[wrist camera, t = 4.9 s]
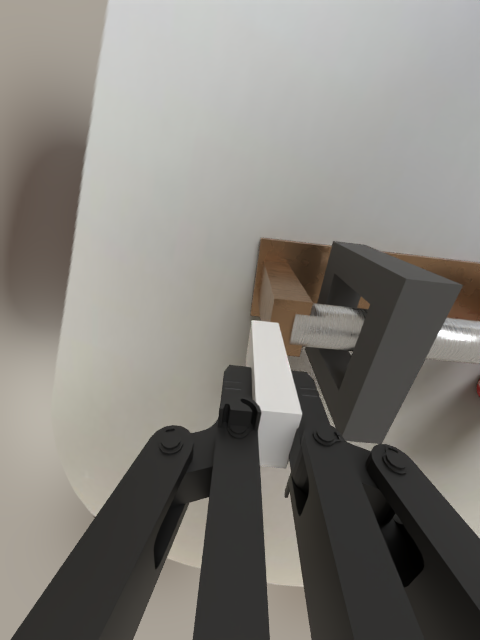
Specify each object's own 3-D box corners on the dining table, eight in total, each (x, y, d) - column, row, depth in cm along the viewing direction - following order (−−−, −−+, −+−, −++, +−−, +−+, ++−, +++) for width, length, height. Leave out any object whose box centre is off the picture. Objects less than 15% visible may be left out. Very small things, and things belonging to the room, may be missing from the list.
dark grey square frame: (305, 349, 24) (340, 440, 15) (333, 241, 20) (406, 278, 11) (330, 352, 24) (381, 443, 15) (364, 244, 20) (463, 285, 11)
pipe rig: (250, 312, 28) (253, 381, 18) (260, 237, 25) (272, 268, 14) (503, 339, 29) (648, 419, 19) (548, 270, 25) (757, 322, 15)
